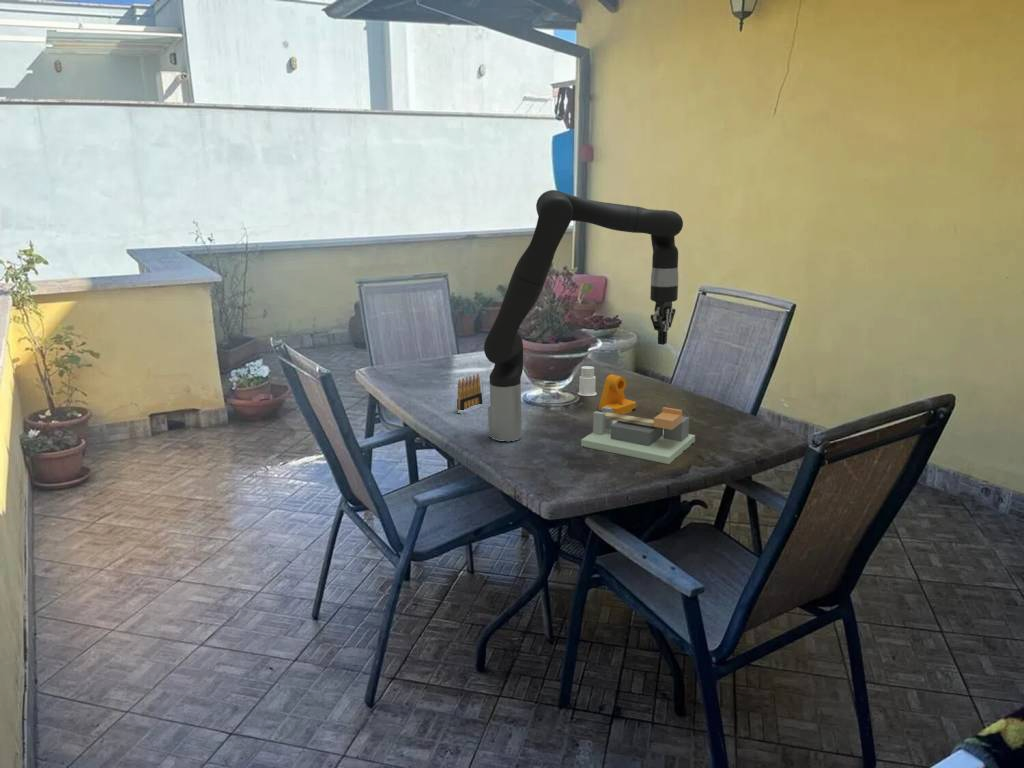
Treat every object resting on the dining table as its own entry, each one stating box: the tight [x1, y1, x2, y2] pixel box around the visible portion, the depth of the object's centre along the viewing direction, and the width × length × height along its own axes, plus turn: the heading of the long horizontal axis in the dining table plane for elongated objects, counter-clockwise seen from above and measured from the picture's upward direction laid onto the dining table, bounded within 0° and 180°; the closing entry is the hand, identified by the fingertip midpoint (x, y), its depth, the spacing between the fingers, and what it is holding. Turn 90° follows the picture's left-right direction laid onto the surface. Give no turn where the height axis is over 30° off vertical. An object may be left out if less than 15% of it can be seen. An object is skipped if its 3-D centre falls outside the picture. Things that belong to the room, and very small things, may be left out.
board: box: [580, 406, 696, 465], centre depth 208 cm, size 27×20×8 cm
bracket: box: [598, 373, 637, 415], centre depth 238 cm, size 11×7×12 cm, turn 130°
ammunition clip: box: [456, 373, 483, 410], centre depth 242 cm, size 11×2×12 cm, turn 139°
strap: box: [604, 411, 671, 430], centre depth 208 cm, size 23×3×2 cm, turn 56°
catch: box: [653, 406, 683, 430], centre depth 201 cm, size 6×7×4 cm
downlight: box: [577, 365, 598, 397], centre depth 257 cm, size 8×7×10 cm
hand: (662, 343), depth 205 cm, fingers closed
